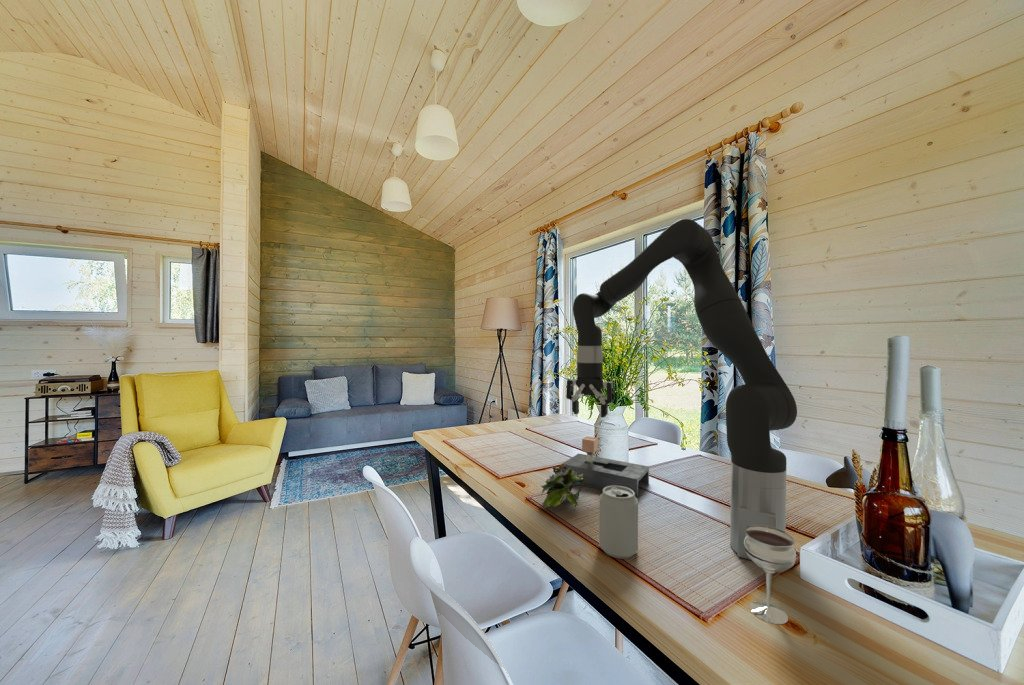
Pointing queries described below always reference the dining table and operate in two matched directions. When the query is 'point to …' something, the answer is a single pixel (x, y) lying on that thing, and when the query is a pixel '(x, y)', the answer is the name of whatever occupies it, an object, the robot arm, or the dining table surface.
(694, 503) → the dining table surface
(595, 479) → the keyhole plate
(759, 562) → the wineglass
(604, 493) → the can
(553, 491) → the leafy green plant
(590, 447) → the peg
